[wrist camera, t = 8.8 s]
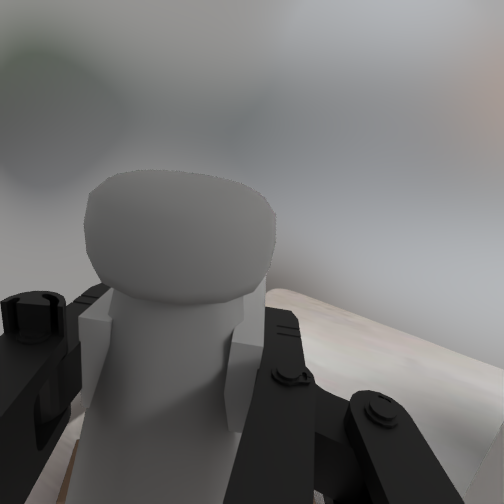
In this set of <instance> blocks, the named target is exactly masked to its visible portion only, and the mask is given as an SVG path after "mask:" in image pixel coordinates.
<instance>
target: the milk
mask: <svg viewBox="0 0 504 504" xmlns="http://www.w3.org/2000/svg"><path fill="white" fill-rule="evenodd" d="M462 500H463V501H464V503H465V504H504V422H503V424H502V426H501V428H500V430H499V431H498V433H497V435H496V437H495V439H494V441H493V443H492V445H491V447H490V448H489V450H488V452H487V454H486V456H485V458H484V460H483V462H482V463H481V465H480V467H479V469H478V471H477V473H476V475H475V477H474V479H473V480H472V482H471V484H470V486H469V488H468V490H467V492H466V494H465V496H464V497H463V499H462Z"/></svg>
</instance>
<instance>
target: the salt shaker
mask: <svg viewBox="0 0 504 504" xmlns="http://www.w3.org/2000/svg"><path fill="white" fill-rule="evenodd" d="M84 232H85V240H86V251H87V254H88V257H89V259H90V261H91V263H92V266H93V267H94V269H95V271H96V273H97V275H98V276H99V278H100V280H101V282H102V283H103V284H105V285H107V286H109V287H111V288H113V289H114V290H113V294H112V299H111V303H110V307H109V312H108V315H109V316H110V317H111V318H112V319H113V321H112V330H111V339H110V346H109V349H108V352H107V355H106V358H105V361H104V364H103V367H102V370H101V373H100V376H99V379H98V382H97V386H96V389H95V392H94V395H93V398H92V401H91V404H90V407H89V408H87V409H86V413H85V417H84V422H83V426H82V431H81V435H80V439H79V444H78V448H77V452H76V457H75V461H74V466H73V470H72V474H71V479H70V483H69V488H68V492H67V496H66V501H65V504H223V500H224V496H225V493H226V489H227V486H228V482H229V478H230V475H231V471H232V467H233V464H234V460H235V457H236V453H237V449H238V446H239V442H240V439H241V435H242V433H237V432H231V431H229V430H228V422H227V414H226V407H225V399H224V388H225V382H226V375H227V369H228V362H229V355H230V349H231V342H232V337H233V332H234V328H235V327H236V326H237V325H238V324H240V323H241V322H242V321H243V320H244V303H243V296H244V295H247V294H250V293H252V292H254V291H255V289H256V288H257V287H258V285H259V284H260V283H261V281H262V280H263V279H264V277H265V275H266V273H267V271H268V270H269V268H270V265H271V260H272V256H273V252H274V248H275V243H276V214H275V213H274V211H273V210H272V208H271V207H270V205H269V203H268V202H267V200H266V199H265V197H263V196H262V195H261V194H260V193H259V192H257V191H255V190H253V189H252V188H250V187H247V186H246V185H244V184H241V183H238V182H234V181H231V180H228V179H223V178H218V177H214V176H209V175H202V174H194V173H187V172H180V171H168V170H136V171H131V172H125V173H120V174H116V175H114V176H112V177H109V178H107V179H106V180H105V181H104V182H103V183H101V184H100V185H99V186H98V187H97V188H95V189H94V190H93V191H92V192H90V193H89V198H88V203H87V208H86V214H85V219H84Z"/></svg>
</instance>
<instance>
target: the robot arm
mask: <svg viewBox="0 0 504 504" xmlns="http://www.w3.org/2000/svg"><path fill="white" fill-rule="evenodd" d="M113 290H114V289H113V288H111V287H109V286H107V285H105V284H103V283H100V284H98V285H95V286H93V287H91V288H89V289H88V290H87V291H85V292H84V293H83V294H82V295H81V296H79V297H78V298H76V299H75V300H74V301H73V303H70V304H69V305H67V306H66V301H65V298H64V296H62V295H60V294H58V293H55V292H50V291H31V292H24V293H20V294H17V295H13V296H10V297H8V298H6V299H4V300H2V301H1V302H0V304H1V312H2V320H3V328H4V333H3V334H2V335H1V336H0V504H24V503H25V501H26V499H27V498H28V496H29V494H30V492H31V490H32V488H33V486H34V485H35V483H36V481H37V479H38V477H39V475H40V474H41V472H42V470H43V468H44V466H45V464H46V463H47V461H48V459H49V457H50V455H51V453H52V451H53V450H54V448H55V446H56V444H57V442H58V440H59V439H60V437H61V435H62V433H63V431H64V429H65V428H66V426H67V424H68V422H69V419H70V415H71V402H72V400H73V399H74V398H75V396H76V395H77V394H78V393H79V391H80V390H81V407H85V408H89V407H90V404H91V401H92V398H93V395H94V392H95V389H96V386H97V382H98V379H99V376H100V373H101V370H102V367H103V364H104V361H105V358H106V355H107V352H108V349H109V346H110V339H111V330H112V321H113V319H112V318H111V317H110V316H109V315H108V312H109V307H110V303H111V299H112V294H113ZM265 291H266V275H265V277H264V279H263V280H262V281H261V283H260V284H259V285H258V287H257V288H256V289H255V291H254V292H252V293H250V294H247V295H244V296H243V303H244V320H243V321H242V322H241V323H240V324H238V325H237V326H236V327H235V328H234V332H233V337H232V342H231V349H230V355H229V362H228V369H227V375H226V382H225V388H224V399H225V407H226V414H227V422H228V430H229V431H231V432H237V433H242V435H241V439H240V442H239V446H238V449H237V453H236V457H235V460H234V464H233V467H232V471H231V475H230V478H229V482H228V486H227V489H226V493H225V496H224V500H223V504H313V497H314V490H316V491H318V492H320V493H322V494H323V497H324V502H325V504H465V503H464V501H463V500H462V498H461V496H460V495H459V493H458V492H457V490H456V488H455V487H454V485H453V484H452V482H451V480H450V479H449V477H448V476H447V474H446V472H445V471H444V469H443V468H442V466H441V464H440V463H439V461H438V460H437V458H436V456H435V455H434V453H433V451H432V450H431V448H430V447H429V445H428V443H427V442H426V440H425V439H424V437H423V435H422V434H421V432H420V431H419V429H418V427H417V426H416V424H415V423H414V421H413V419H412V418H411V416H410V415H409V414H408V412H407V411H406V410H405V409H404V408H403V406H401V405H400V404H399V403H397V402H396V401H395V400H393V399H392V398H390V397H388V396H386V395H384V394H382V393H379V392H375V391H370V390H364V391H358V392H356V393H354V394H353V395H352V397H351V399H350V401H348V400H345V399H343V398H340V397H338V396H336V395H333V394H331V393H329V392H327V391H325V390H323V389H322V388H320V387H319V386H318V385H316V384H315V380H314V376H313V374H312V373H311V372H310V370H309V369H308V368H307V367H306V366H305V360H304V354H303V347H302V341H301V335H300V330H299V329H300V328H299V322H298V319H297V318H296V316H295V315H294V314H293V313H292V311H289V310H283V309H277V308H271V307H265Z"/></svg>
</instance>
